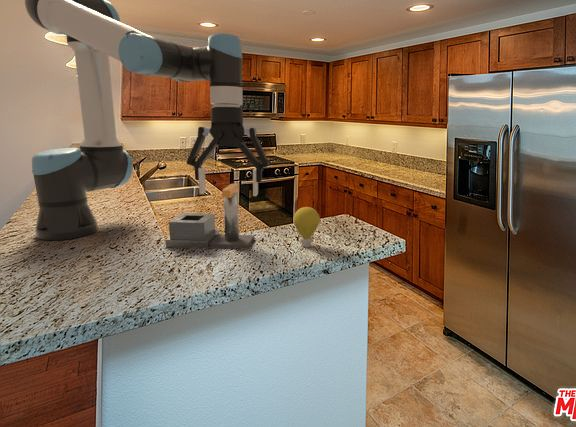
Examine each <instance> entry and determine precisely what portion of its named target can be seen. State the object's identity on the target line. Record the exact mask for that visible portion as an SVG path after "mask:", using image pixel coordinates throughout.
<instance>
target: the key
mask: <svg viewBox="0 0 576 427" xmlns="http://www.w3.org/2000/svg"><path fill="white" fill-rule="evenodd" d="M239 191H240V184H239V183H230V184H229V185H227V186H225V187H224V188H223V189H222V190H221V198H223V213H224V214H223V216H224V218H223V220H224V234H225V240H226V241H230V242H233V241H238V240H239V235H240V232H239V231H240V224H239V223H240V222H239V221H240V218H239V193H238V192H239Z"/></svg>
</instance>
